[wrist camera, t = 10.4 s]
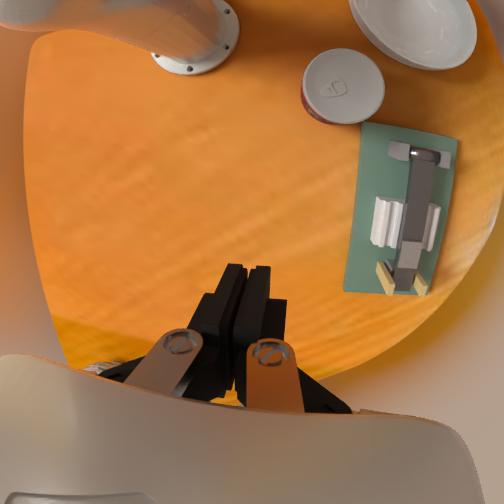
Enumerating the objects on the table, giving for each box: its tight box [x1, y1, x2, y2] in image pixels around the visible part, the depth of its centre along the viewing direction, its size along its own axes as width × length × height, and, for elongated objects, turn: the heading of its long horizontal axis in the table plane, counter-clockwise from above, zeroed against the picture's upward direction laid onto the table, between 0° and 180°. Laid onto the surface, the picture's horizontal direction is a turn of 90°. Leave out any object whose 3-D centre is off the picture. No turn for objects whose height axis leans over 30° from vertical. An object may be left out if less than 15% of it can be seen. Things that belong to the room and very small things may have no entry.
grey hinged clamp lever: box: [391, 146, 440, 292], centre depth 33 cm, size 19×4×2 cm, turn 179°
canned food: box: [301, 48, 385, 124], centre depth 28 cm, size 8×8×11 cm
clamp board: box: [343, 121, 458, 297], centre depth 34 cm, size 24×14×8 cm, turn 179°
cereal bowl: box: [349, 0, 477, 70], centre depth 23 cm, size 17×17×7 cm
